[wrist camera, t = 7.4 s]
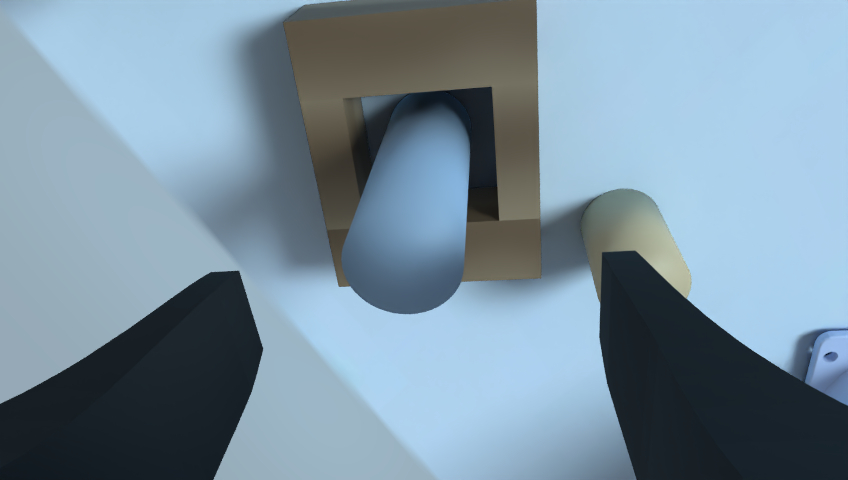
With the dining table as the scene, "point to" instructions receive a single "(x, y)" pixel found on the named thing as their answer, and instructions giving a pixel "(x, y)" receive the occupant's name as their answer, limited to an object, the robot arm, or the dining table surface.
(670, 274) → the short dowel
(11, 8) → the dining table surface
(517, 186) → the block with square hole
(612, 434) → the dining table surface
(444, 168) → the long dowel
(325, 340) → the dining table surface
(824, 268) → the dining table surface
